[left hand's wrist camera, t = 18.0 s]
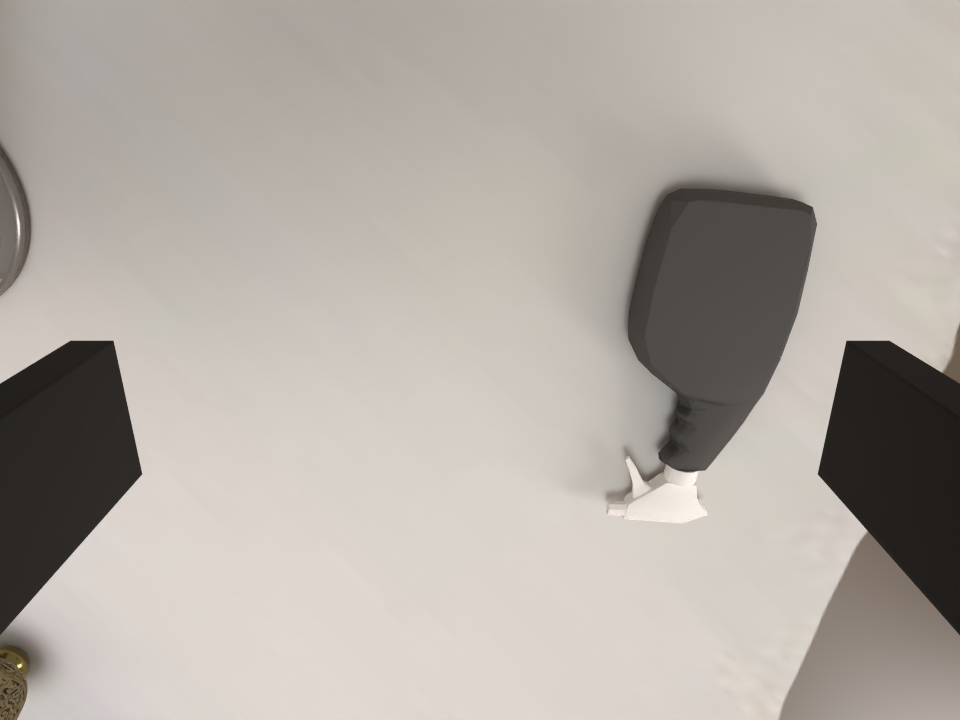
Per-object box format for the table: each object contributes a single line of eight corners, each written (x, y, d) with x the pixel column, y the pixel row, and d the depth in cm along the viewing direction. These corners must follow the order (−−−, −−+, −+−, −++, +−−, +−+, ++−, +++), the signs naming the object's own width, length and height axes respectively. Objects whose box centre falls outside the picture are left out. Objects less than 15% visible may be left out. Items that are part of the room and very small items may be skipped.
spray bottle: (817, 200, 43) (721, 514, 53) (651, 180, 43) (584, 501, 52) (839, 208, 41) (734, 538, 50) (663, 187, 40) (590, 524, 50)
